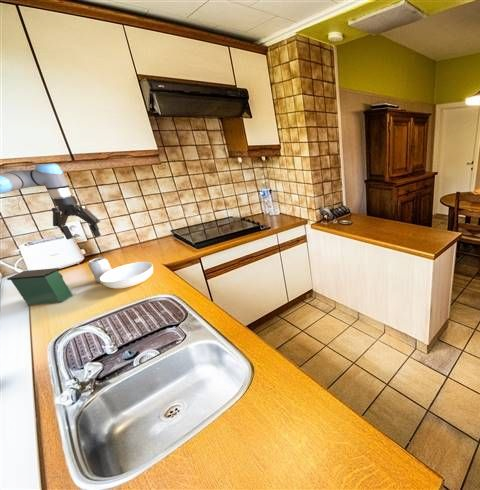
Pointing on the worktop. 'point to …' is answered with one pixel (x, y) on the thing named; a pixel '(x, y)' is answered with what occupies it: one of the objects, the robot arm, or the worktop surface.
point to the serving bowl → (127, 275)
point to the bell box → (41, 286)
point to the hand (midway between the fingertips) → (84, 237)
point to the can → (99, 267)
